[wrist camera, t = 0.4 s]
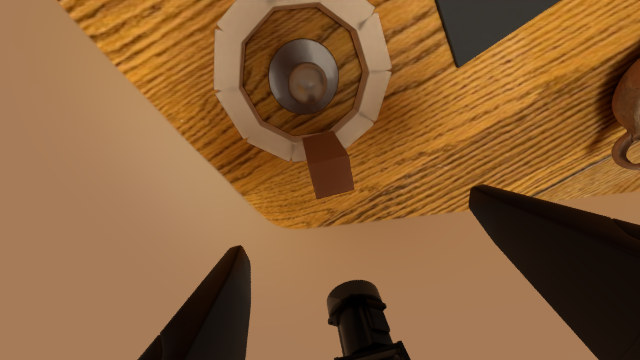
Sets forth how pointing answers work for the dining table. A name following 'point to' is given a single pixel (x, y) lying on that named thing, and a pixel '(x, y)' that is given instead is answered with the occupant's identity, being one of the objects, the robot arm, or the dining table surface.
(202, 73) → the dining table surface
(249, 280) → the robot arm
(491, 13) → the rubber mat
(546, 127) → the dining table surface
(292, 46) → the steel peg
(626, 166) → the oil lamp
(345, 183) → the ivory ring
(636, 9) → the dining table surface
